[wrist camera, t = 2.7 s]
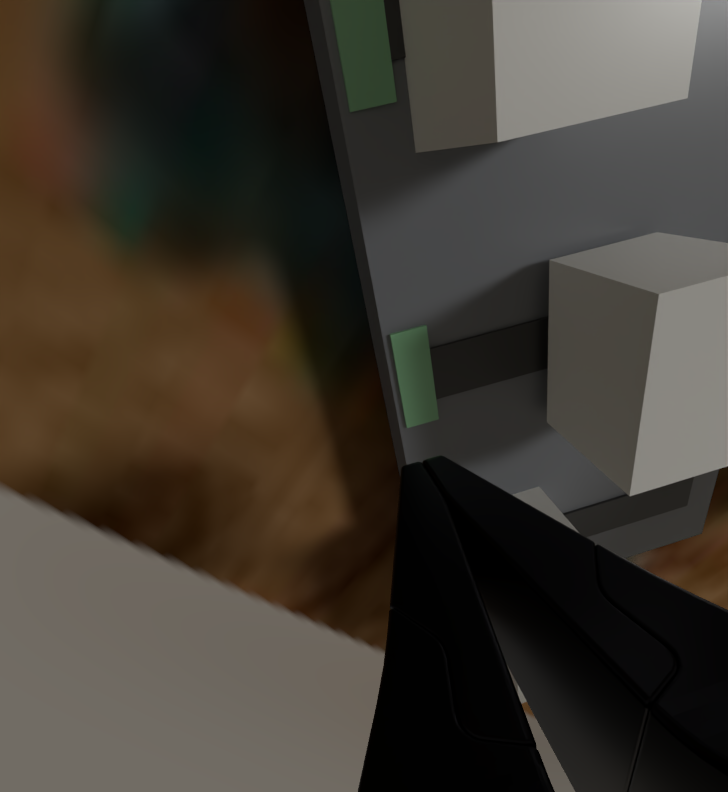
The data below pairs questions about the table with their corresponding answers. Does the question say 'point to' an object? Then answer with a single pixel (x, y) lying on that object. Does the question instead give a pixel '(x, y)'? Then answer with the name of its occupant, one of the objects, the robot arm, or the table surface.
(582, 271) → the handle
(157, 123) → the table surface
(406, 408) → the breaker panel
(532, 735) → the robot arm
